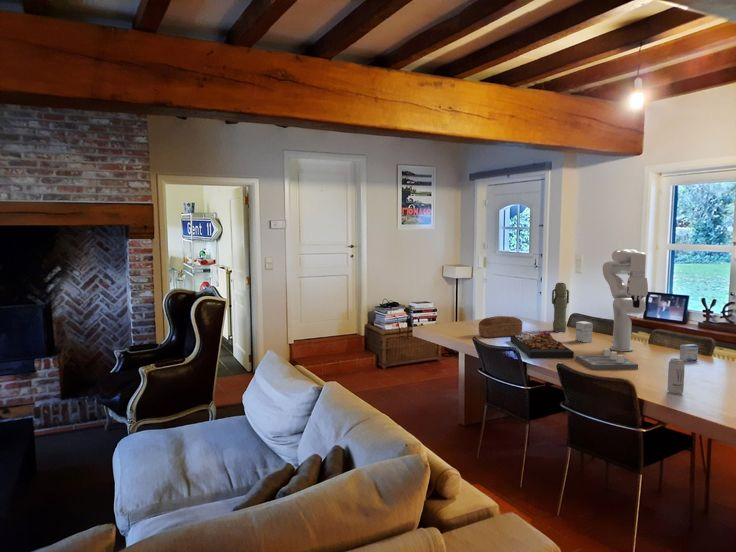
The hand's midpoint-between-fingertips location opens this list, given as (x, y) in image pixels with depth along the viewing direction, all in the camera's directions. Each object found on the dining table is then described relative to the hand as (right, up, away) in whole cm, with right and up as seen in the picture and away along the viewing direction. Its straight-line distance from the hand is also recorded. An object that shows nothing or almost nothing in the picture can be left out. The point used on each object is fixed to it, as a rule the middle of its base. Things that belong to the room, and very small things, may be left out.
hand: (636, 307), depth 281 cm
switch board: (-21, -30, -9) cm, 38 cm away
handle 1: (-18, -27, -2) cm, 32 cm away
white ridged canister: (-9, -25, +48) cm, 55 cm away
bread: (-58, -24, +67) cm, 92 cm away
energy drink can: (-13, -35, -58) cm, 69 cm away
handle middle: (-17, -27, -9) cm, 34 cm away
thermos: (-12, -23, +81) cm, 85 cm away
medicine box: (+28, -29, -1) cm, 41 cm away
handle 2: (-17, -28, -16) cm, 37 cm away
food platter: (-45, -28, +27) cm, 59 cm away
